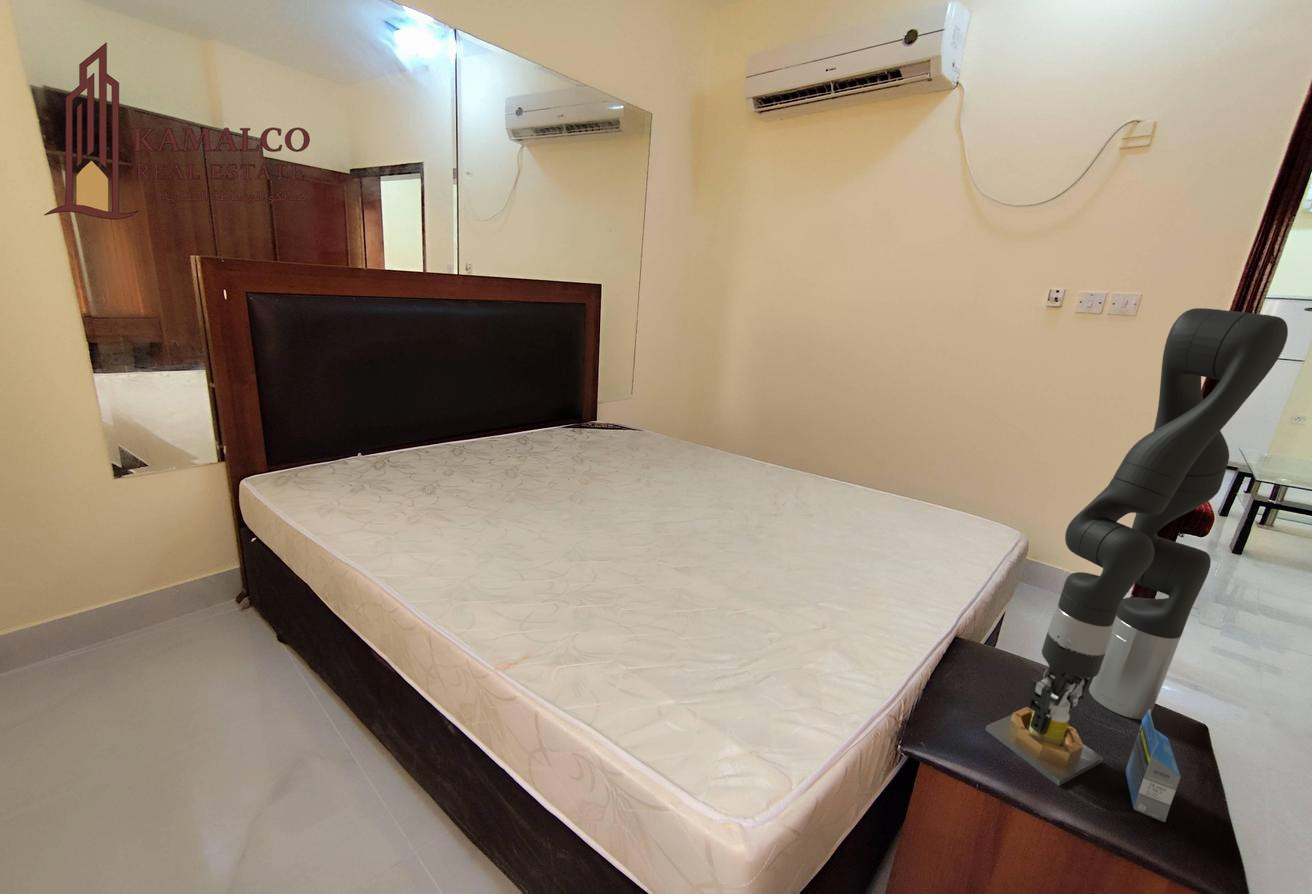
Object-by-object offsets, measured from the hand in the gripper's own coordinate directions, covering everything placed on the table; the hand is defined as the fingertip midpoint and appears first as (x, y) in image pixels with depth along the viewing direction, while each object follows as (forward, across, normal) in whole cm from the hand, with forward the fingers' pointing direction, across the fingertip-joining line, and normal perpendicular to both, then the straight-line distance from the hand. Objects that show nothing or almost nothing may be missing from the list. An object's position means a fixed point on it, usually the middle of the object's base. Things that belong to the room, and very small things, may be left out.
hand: (1048, 725), depth 91 cm
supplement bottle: (+3, 0, 0) cm, 3 cm away
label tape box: (+4, -5, +12) cm, 14 cm away
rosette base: (+4, 0, 0) cm, 4 cm away
